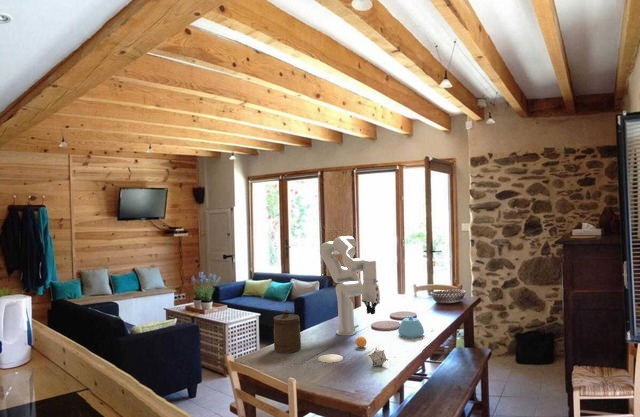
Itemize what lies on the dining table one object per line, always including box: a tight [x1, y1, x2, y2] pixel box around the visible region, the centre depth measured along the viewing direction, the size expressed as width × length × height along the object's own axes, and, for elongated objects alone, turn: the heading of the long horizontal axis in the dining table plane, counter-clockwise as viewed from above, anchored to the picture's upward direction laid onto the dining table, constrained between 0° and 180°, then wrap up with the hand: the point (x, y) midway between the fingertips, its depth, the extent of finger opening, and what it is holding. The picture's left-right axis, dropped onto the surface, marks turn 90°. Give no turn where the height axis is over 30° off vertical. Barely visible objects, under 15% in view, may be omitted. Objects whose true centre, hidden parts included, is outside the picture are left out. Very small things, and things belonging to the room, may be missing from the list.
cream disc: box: [317, 353, 344, 364], centre depth 251 cm, size 13×13×1 cm
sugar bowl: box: [398, 315, 425, 339], centre depth 289 cm, size 15×15×12 cm
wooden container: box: [273, 309, 302, 354], centre depth 270 cm, size 15×15×22 cm
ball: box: [355, 336, 367, 348], centre depth 269 cm, size 6×6×6 cm
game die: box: [368, 348, 389, 368], centre depth 238 cm, size 9×8×10 cm
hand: (371, 313), depth 275 cm, fingers closed
